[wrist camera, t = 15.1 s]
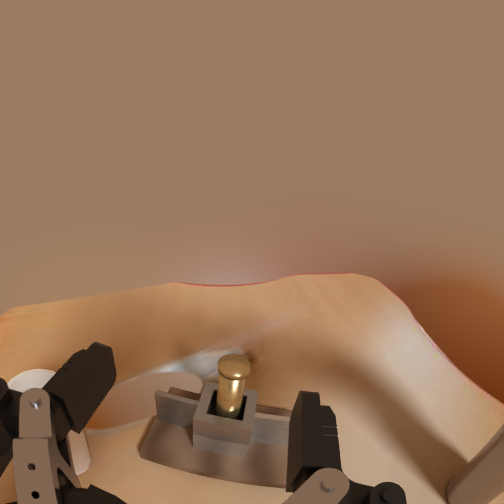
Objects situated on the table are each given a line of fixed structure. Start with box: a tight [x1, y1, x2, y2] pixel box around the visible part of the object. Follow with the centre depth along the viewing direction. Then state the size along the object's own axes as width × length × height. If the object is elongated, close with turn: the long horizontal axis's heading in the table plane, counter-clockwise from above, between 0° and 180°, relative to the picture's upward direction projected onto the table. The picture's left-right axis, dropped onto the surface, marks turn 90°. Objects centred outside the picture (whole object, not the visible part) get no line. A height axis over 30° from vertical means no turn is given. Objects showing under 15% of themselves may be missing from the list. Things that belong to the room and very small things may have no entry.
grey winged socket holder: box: [155, 381, 290, 458], centre depth 33 cm, size 19×7×7 cm, turn 82°
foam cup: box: [7, 369, 91, 475], centre depth 23 cm, size 10×9×13 cm
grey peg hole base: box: [139, 387, 293, 488], centre depth 35 cm, size 20×14×2 cm
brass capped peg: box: [215, 354, 251, 420], centre depth 32 cm, size 4×4×14 cm
